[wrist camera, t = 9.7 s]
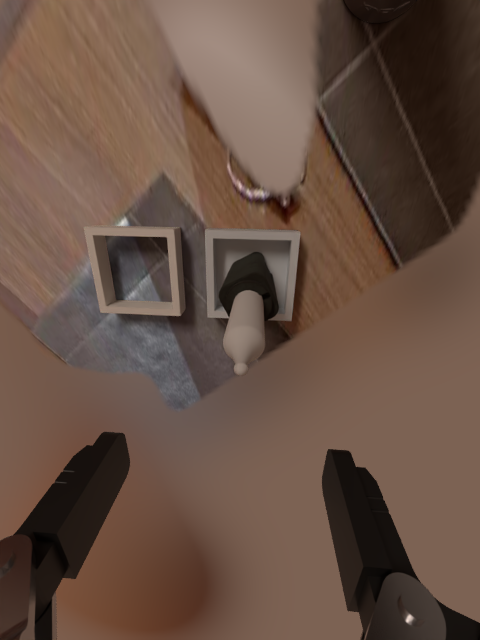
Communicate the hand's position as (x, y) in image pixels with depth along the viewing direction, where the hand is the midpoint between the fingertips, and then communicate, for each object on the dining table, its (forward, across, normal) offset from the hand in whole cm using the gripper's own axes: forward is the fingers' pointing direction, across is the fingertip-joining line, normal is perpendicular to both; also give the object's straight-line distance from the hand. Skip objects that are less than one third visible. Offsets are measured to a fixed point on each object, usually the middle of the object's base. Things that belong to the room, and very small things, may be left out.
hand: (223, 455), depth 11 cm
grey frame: (+31, +16, 0) cm, 35 cm away
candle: (+30, 0, 0) cm, 31 cm away
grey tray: (+31, 0, 0) cm, 31 cm away
